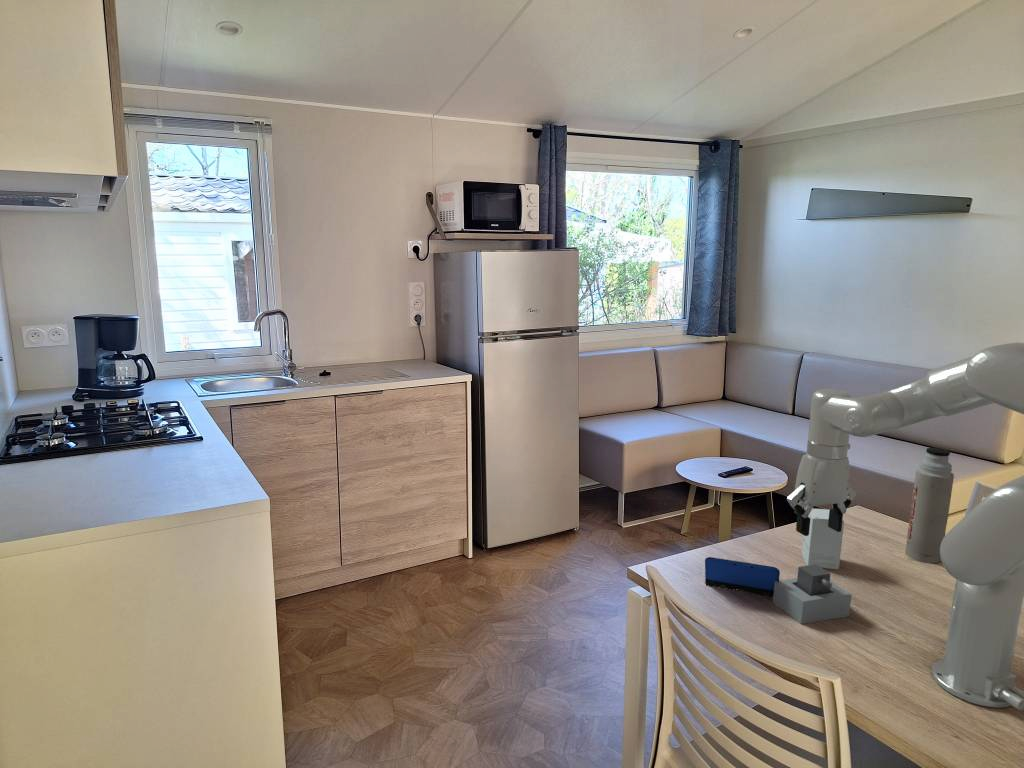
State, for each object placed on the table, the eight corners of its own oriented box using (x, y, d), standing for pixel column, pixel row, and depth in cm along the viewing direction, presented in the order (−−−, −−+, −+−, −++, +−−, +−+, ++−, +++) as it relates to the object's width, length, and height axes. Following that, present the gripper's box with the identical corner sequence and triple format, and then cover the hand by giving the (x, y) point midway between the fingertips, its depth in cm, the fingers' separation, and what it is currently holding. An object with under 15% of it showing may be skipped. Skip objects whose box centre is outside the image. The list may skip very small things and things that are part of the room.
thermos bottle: (903, 557, 170) (917, 450, 164) (907, 546, 176) (920, 443, 171) (940, 566, 165) (956, 456, 160) (942, 554, 171) (958, 448, 166)
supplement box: (839, 570, 162) (845, 520, 160) (806, 567, 164) (811, 518, 161) (831, 557, 169) (837, 509, 167) (800, 554, 171) (805, 507, 168)
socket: (849, 616, 142) (851, 594, 141) (800, 624, 138) (803, 601, 137) (818, 595, 150) (821, 574, 149) (772, 602, 147) (774, 581, 146)
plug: (812, 598, 147) (815, 564, 145) (834, 614, 140) (838, 578, 139) (795, 601, 146) (798, 566, 144) (817, 617, 139) (821, 581, 138)
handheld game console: (778, 581, 157) (781, 544, 155) (777, 608, 145) (780, 568, 143) (708, 569, 163) (711, 533, 161) (702, 594, 151) (704, 556, 149)
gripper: (848, 442, 143) (839, 520, 147) (778, 447, 139) (771, 528, 142) (876, 452, 136) (866, 534, 140) (803, 458, 132) (795, 543, 135)
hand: (818, 530), depth 141 cm, fingers open, 7 cm apart
